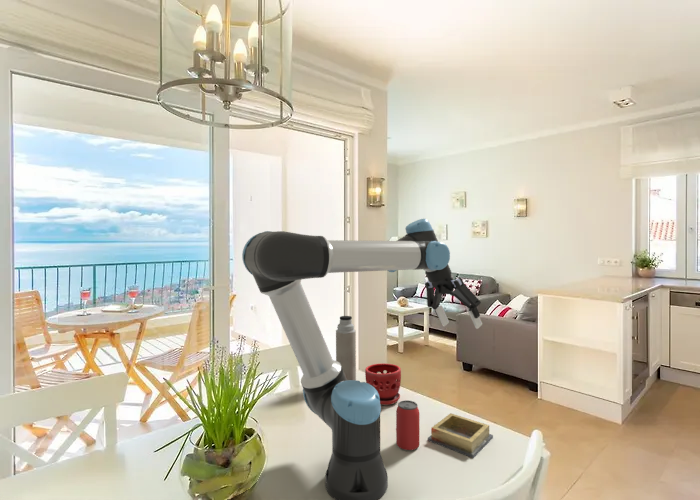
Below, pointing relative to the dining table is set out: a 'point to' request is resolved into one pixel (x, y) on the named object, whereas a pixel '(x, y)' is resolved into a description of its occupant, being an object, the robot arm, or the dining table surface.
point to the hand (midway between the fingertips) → (462, 325)
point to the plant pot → (385, 381)
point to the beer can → (407, 425)
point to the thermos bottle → (346, 347)
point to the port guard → (460, 434)
